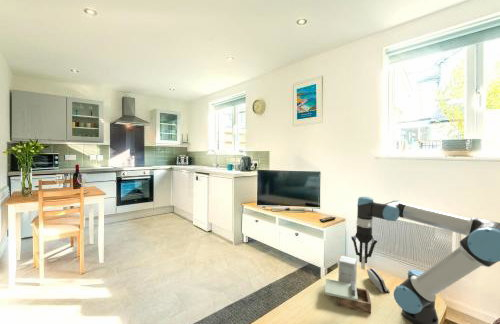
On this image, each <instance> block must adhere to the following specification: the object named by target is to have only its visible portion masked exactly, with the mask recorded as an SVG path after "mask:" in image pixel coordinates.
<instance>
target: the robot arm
mask: <svg viewBox="0 0 500 324" xmlns="http://www.w3.org/2000/svg"><path fill="white" fill-rule="evenodd" d="M356 213H357V214H356V215H357V217H356V224H357V225H356V233H355V235H352V236H351V237H350V238H351V240H352V242H353V246H354V251H355V254H356V255H357V256H358V261H359V263H360V265H361V267H360V268H361V270H365V265H366V264H367V263H368V258H371V257H372V254H373V252H374V248H375V246H376V244H377V243H378V240H377V239H376V238H374V236H373V218H376V219H380V220H386V221H387V222H388V221H391V222H397V221H398V219H399V218H402V219H405V220H410V221H413V222H417V223H420V224H423V225H428V226H431V227H435V228H438V229H442V230H446V231H449V232H452V233H456V234H459V235H463V236H465V237H463V238H462V239H461V240H460V241H459V247H458V248H456V249H455V250H454V251H452V252H450V253H449V254H448V255H447V256H445V257H444V258H442V259H441V260H439V261H438V262H437V263H435V264H433V266H431V267H429V268H428V269H427V270H426V271H422V270H417V269H410V270H408V271H407V279H405V280H403V282H402V283H400V284H399V285H397V286H395V289H394V290H393V299H394V300H395V303H396V304H397V305H398V307H400V308H401V313H402V315H403V317H404V318H405V319H407V320H408V321H409V322H410V323H412V324H439V316H438V313H437V311H436V308H435V307H436V306H435V305H436V298H437V296H436V295H438V294H439V293H441V292H442V291H444V290H445V289H447V288H448V287H450V286H452V285H453V284H455V283H456V282H458V281H460V280H461V279H462V278H465V277H466V276H468V275H470V274H471V273H472V272H474V271H476V270H477V269H479V268H480V267H487V268H490V267H492V266H493V265H496V263H499V262H500V222H497V221H493V220H487V219H483V218H479V217H472V218H468V217H463V216H460V215H459V216H458V215H455V214H451V213H448V212H447V213H446V212H442V211H438V210H434V209H430V208H425V207H421V206H417V205H413V204H408V203H404V202H403V201H401V200H392V201H390V202H386V203H380V202H379V203H378V202H374V199H373V198H372V197H369V196H360V197H358V199H357V212H356ZM356 240H358V242H359V249H358V246H357V241H356ZM370 242H371V244H370V247H369V243H370ZM363 244H364V247H363ZM363 248H364V255H363ZM368 248H369V249H368Z"/></svg>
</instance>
